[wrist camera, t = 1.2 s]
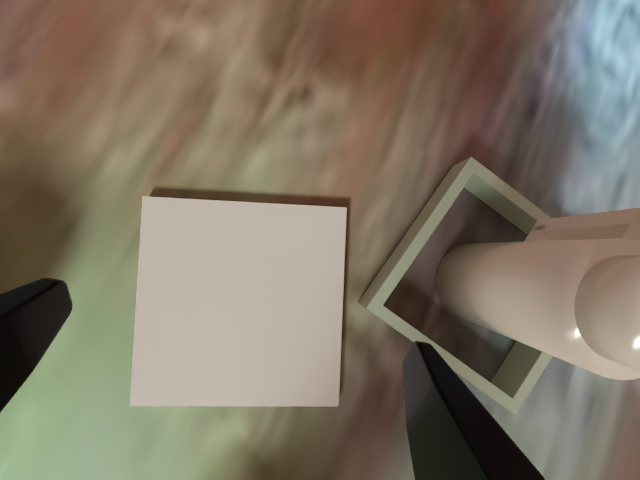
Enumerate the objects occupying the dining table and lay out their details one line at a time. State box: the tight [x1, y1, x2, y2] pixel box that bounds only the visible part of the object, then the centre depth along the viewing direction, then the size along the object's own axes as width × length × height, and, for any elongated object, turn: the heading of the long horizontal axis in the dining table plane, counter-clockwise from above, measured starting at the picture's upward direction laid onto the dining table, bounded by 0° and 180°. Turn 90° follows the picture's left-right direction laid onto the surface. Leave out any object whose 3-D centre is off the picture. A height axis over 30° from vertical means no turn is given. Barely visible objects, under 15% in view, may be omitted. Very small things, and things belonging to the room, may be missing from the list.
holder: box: [359, 157, 553, 415], centre depth 23 cm, size 13×13×2 cm
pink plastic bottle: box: [435, 208, 640, 380], centre depth 17 cm, size 8×6×13 cm
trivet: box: [130, 196, 347, 407], centre depth 22 cm, size 14×14×1 cm
